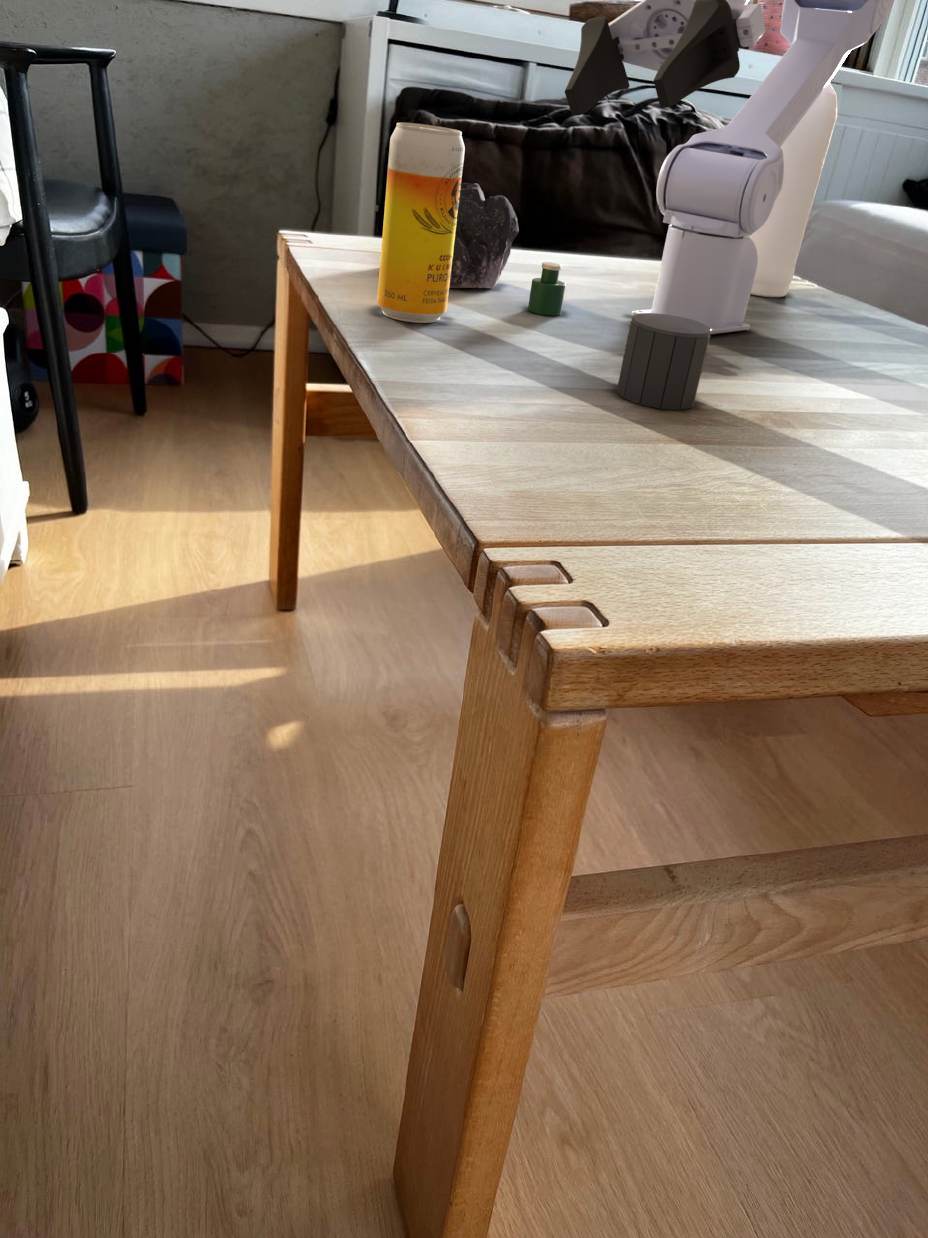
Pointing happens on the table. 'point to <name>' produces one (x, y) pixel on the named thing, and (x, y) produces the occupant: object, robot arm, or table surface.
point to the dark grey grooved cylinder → (663, 361)
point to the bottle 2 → (794, 197)
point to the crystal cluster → (481, 238)
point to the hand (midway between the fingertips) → (615, 98)
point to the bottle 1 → (547, 291)
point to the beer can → (420, 221)
